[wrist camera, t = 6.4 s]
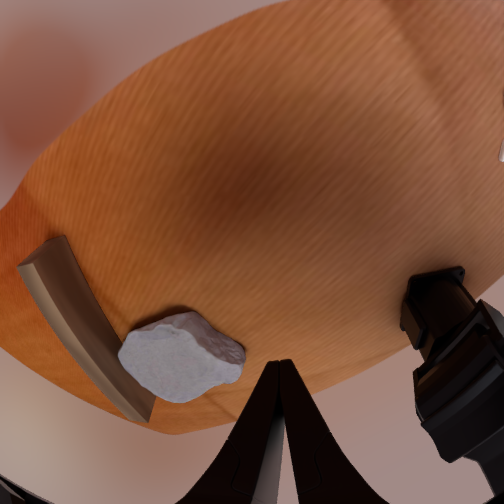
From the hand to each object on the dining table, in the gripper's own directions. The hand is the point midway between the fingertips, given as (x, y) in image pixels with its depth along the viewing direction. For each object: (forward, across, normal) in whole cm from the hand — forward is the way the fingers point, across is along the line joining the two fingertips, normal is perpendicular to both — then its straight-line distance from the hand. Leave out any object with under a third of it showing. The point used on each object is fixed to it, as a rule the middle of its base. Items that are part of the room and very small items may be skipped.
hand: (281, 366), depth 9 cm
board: (+12, +20, +9) cm, 25 cm away
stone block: (+13, +12, +12) cm, 21 cm away
